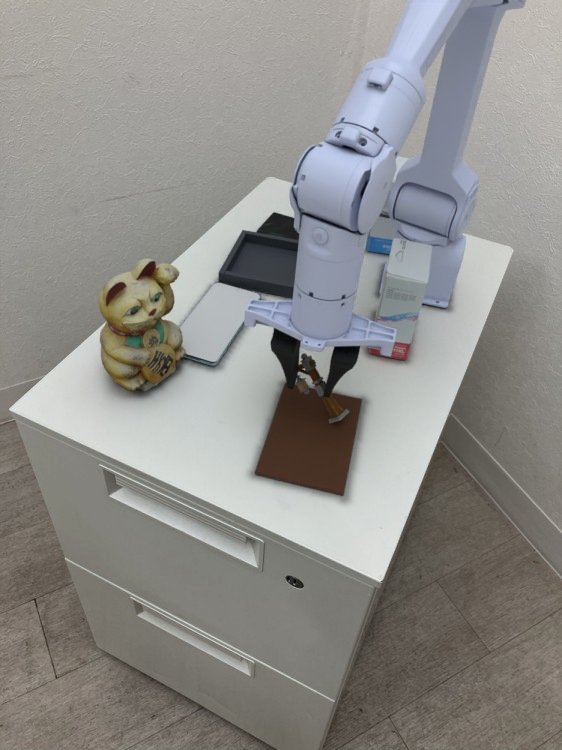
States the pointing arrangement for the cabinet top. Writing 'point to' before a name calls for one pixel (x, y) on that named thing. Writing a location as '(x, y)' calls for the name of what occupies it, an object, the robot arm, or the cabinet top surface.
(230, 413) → the cabinet top surface
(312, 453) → the desk pad
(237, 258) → the tray
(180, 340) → the decorative figurine
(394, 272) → the ink box
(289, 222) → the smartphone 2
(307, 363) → the brown grey jointed column
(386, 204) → the ink box
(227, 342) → the smartphone
